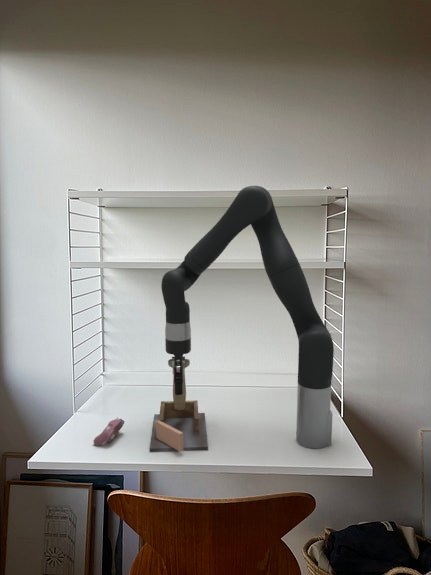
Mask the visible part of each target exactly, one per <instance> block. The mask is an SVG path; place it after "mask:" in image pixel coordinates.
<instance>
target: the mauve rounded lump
mask: <svg viewBox="0 0 431 575" xmlns="http://www.w3.org/2000/svg"><path fill="white" fill-rule="evenodd" d="M124 424H125V420H123V419H122V418H119V417H116V418H114V419H112V420H110V421H109V422H108V424H107V425H106V427H105V428H104V429H103V430H102V431H101V433H100V434H98V435H97V436H96V437H95V438H94V439H93V445H95V446H102V445H104V444H106V442H107V443H110V442H111V441H112V439H114V438H115V437H117V436H118V435H119V432H120V430H121V429H122V428H123V426H124Z"/></svg>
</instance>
